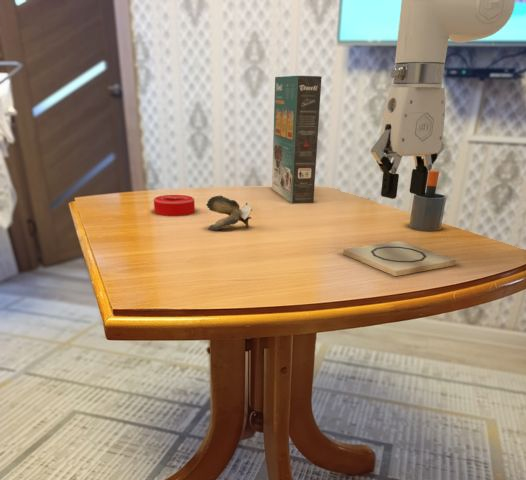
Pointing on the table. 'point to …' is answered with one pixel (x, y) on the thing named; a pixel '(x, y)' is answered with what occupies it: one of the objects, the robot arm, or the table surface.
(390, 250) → the beige square tile
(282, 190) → the cake mix box
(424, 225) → the pen cup
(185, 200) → the red tape roll
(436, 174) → the marker
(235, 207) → the eagle figurine
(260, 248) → the table surface
